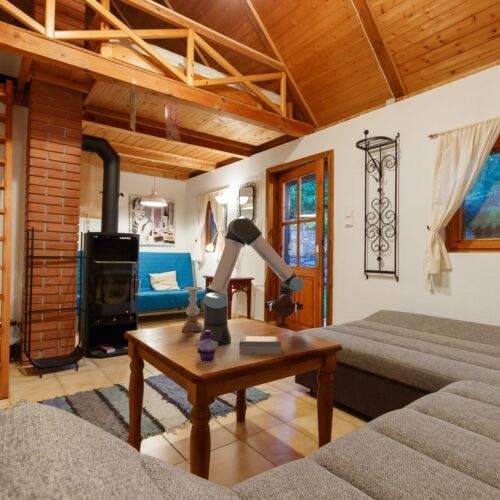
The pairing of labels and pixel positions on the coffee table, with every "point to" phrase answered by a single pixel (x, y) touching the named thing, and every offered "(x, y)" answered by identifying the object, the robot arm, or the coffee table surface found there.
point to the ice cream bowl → (283, 309)
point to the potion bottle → (207, 346)
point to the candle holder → (192, 311)
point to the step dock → (259, 345)
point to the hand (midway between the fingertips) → (283, 308)
